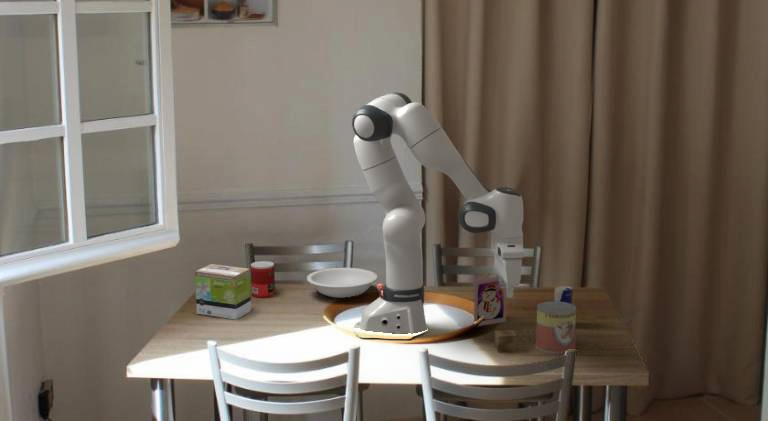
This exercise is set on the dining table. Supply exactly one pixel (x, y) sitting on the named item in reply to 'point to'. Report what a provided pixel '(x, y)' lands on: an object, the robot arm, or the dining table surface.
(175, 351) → the dining table surface
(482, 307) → the greeting card
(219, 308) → the tea box
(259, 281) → the canned food
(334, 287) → the soup bowl
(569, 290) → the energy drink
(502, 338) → the walnut block
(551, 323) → the canned food
